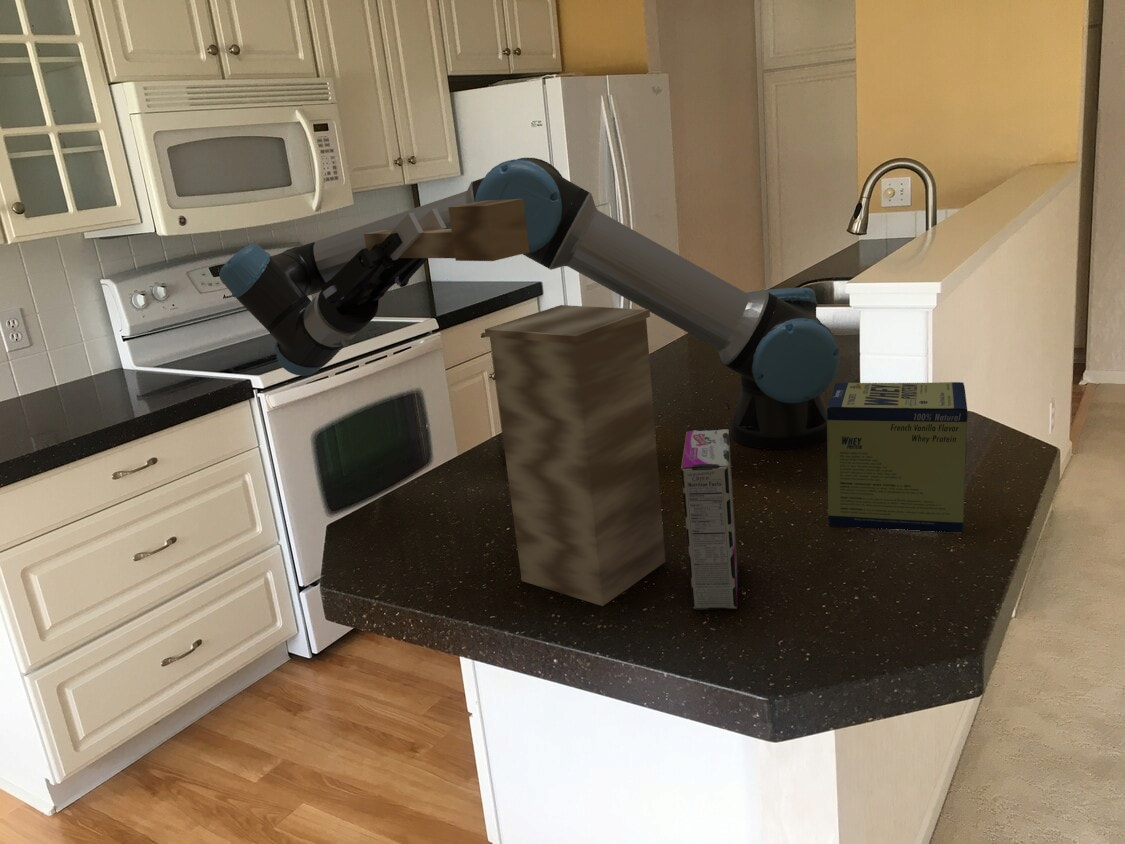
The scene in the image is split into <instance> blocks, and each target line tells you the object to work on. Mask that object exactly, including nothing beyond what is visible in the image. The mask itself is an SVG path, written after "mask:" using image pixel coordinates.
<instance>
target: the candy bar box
mask: <svg viewBox="0 0 1125 844" xmlns="http://www.w3.org/2000/svg"><path fill="white" fill-rule="evenodd" d="M684 438H685V439H684V446H683V447H684V448H683V452H682V459H681V467H680V469H681V471H680V472H681V481H682V494H683V497H682V498H683V506H684V517H685V528H686V539H687V549H688V551H687V553H688V562H689V563H688V564H689V576H690V589H691V600H692V602H691V603H692V609H694V610H702V611H707V610H737V609H738V558H737V557H738V555H737V541H736V540H737V539H736V528H735V527H736V526H735V513H734V512H735V510H734V496H733V480H732V460H731V446H730V445H731V444H730V430H729V429H725V428H724V429H704V430H703V429H702V430H699V429H698V430H697V429H694V430H688V431H686V432H685V437H684Z"/></svg>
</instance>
